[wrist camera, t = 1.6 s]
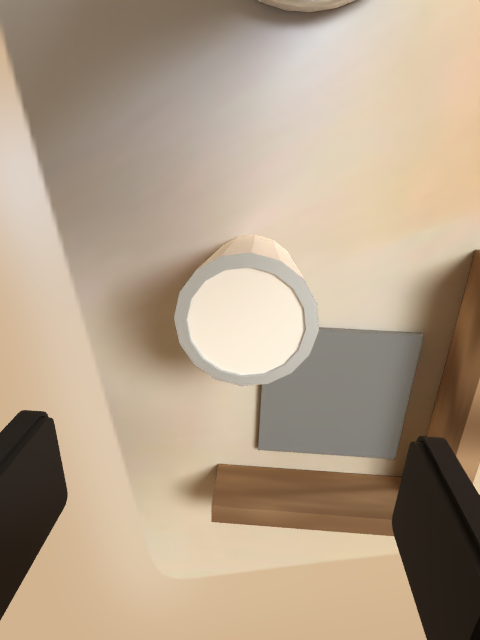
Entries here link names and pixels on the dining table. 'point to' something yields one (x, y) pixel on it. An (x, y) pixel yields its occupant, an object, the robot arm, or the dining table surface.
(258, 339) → the white cup
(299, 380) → the pad
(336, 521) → the wooden corner fence
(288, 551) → the dining table surface
